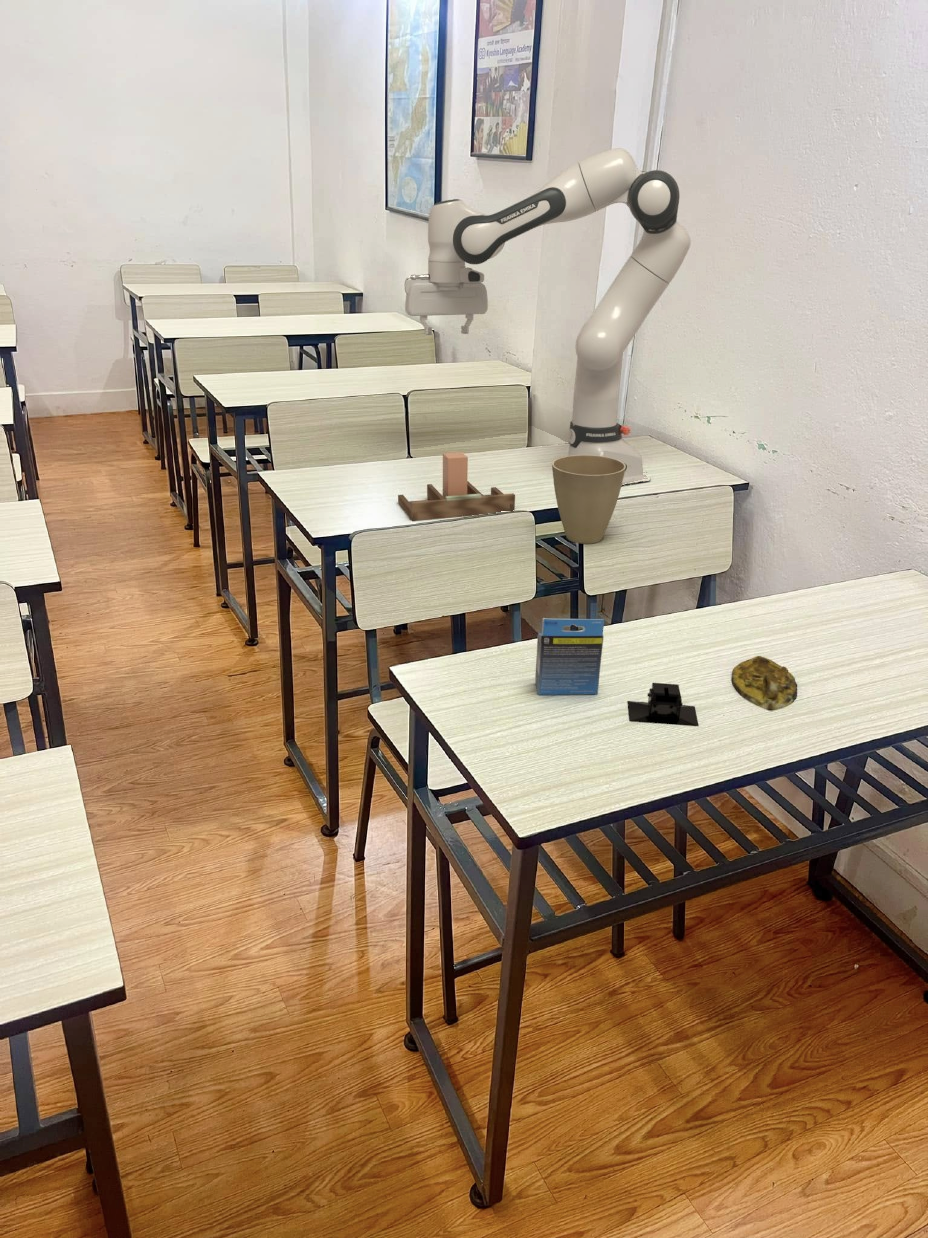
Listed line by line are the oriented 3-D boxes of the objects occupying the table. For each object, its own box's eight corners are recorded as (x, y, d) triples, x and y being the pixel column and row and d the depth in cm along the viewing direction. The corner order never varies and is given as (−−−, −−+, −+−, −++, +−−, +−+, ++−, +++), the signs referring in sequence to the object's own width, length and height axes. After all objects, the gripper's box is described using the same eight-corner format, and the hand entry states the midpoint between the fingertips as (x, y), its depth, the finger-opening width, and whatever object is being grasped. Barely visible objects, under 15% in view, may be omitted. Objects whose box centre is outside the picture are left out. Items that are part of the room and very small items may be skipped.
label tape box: (593, 682, 133) (600, 607, 127) (598, 696, 129) (605, 619, 124) (534, 683, 132) (538, 607, 127) (537, 696, 129) (541, 619, 123)
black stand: (618, 726, 123) (621, 697, 121) (616, 699, 129) (619, 672, 127) (711, 734, 121) (715, 705, 119) (704, 706, 128) (709, 678, 126)
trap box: (495, 495, 215) (496, 476, 213) (514, 511, 204) (515, 492, 202) (398, 503, 208) (397, 484, 206) (412, 521, 197) (411, 500, 195)
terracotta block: (461, 502, 209) (461, 452, 204) (466, 508, 205) (467, 457, 200) (442, 504, 208) (442, 453, 203) (448, 510, 204) (448, 458, 199)
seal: (724, 667, 141) (739, 715, 127) (725, 639, 139) (739, 686, 125) (786, 665, 139) (807, 714, 126) (788, 637, 137) (809, 684, 124)
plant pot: (558, 522, 197) (562, 451, 190) (625, 531, 193) (632, 458, 186) (539, 544, 185) (543, 469, 178) (610, 554, 180) (617, 477, 173)
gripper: (407, 275, 209) (408, 337, 215) (490, 274, 214) (489, 334, 220) (401, 273, 214) (402, 333, 220) (482, 272, 220) (481, 331, 226)
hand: (446, 334), depth 220 cm, fingers open, 8 cm apart
